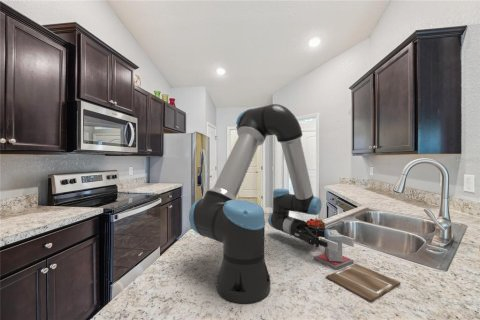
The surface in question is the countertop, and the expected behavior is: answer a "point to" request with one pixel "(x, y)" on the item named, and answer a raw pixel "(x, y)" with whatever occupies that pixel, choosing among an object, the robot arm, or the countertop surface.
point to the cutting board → (363, 282)
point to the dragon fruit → (316, 223)
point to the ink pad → (333, 264)
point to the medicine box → (336, 238)
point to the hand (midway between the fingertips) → (345, 245)
